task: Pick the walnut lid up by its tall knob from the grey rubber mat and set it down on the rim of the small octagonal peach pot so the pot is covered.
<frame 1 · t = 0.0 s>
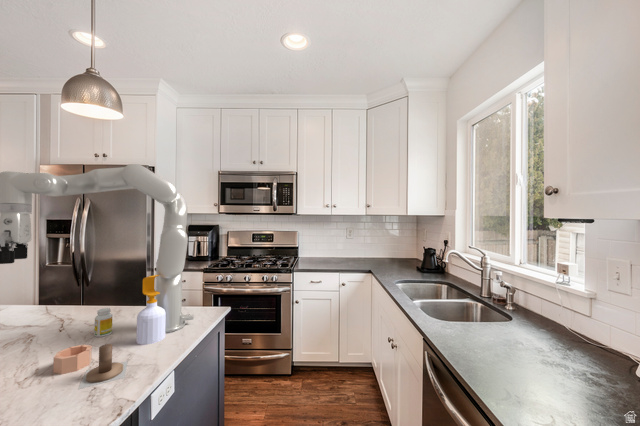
hand: (13, 261, 88), 31 cm above the countertop, tool pointing down, fingers open, 9 cm apart
mat: (105, 375, 77), on the countertop
octagonal peach pot: (73, 367, 81), on the countertop
lid: (105, 373, 77), point 1 cm above the countertop, touching mat
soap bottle: (151, 340, 99), on the countertop, touching arm
supplement bottle: (103, 334, 104), on the countertop
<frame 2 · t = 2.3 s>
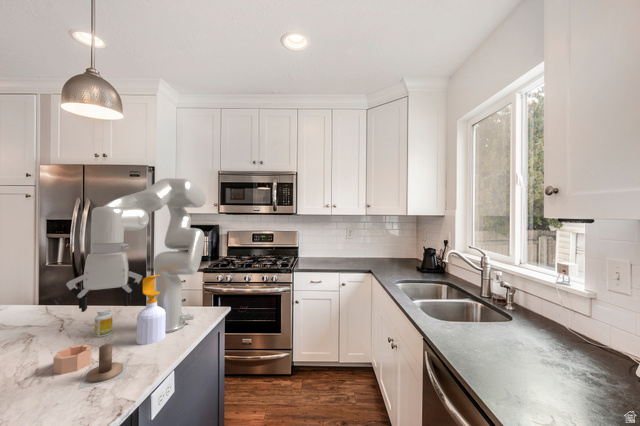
hand: (106, 307, 77), 20 cm above the countertop, tool pointing down, fingers open, 9 cm apart
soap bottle: (151, 340, 99), on the countertop
everything else where it was.
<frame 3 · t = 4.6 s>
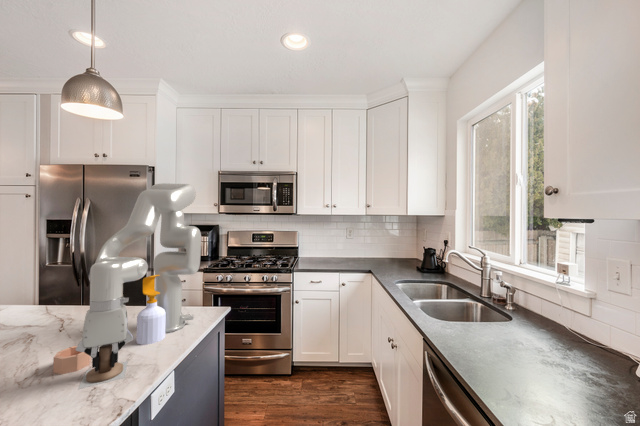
hand: (105, 366, 77), 3 cm above the countertop, tool pointing down, fingers closed on lid, 3 cm apart
lid: (105, 373, 77), point 1 cm above the countertop, touching gripper, mat
everything else where it was.
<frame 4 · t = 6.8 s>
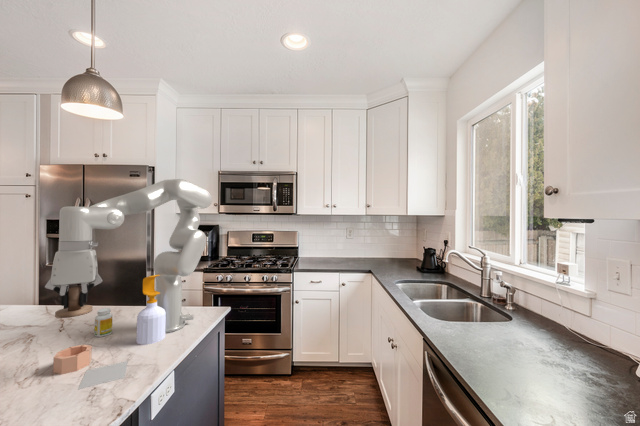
hand: (74, 305, 81), 19 cm above the countertop, tool pointing down, fingers closed on lid, 3 cm apart
lid: (74, 312, 81), point 17 cm above the countertop, touching gripper
everything else where it was.
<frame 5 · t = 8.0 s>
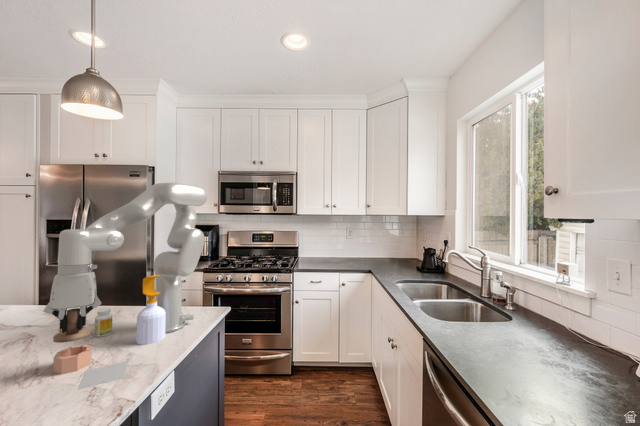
hand: (72, 329, 81), 12 cm above the countertop, tool pointing down, fingers closed on lid, 3 cm apart
lid: (72, 336, 81), point 10 cm above the countertop, touching gripper
everything else where it was.
when the fingers open (8 cm above the countertop, at t = 8.9 s): lid drops 1 cm, resting on octagonal peach pot.
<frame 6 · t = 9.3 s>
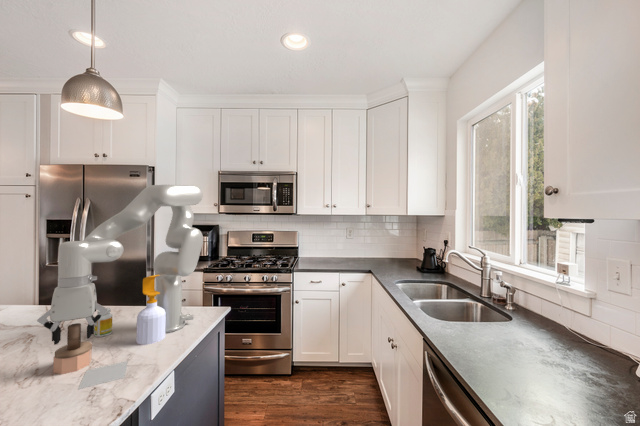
hand: (73, 339, 81), 9 cm above the countertop, tool pointing down, fingers open, 6 cm apart
lid: (73, 351, 81), point 5 cm above the countertop, touching octagonal peach pot
everything else where it was.
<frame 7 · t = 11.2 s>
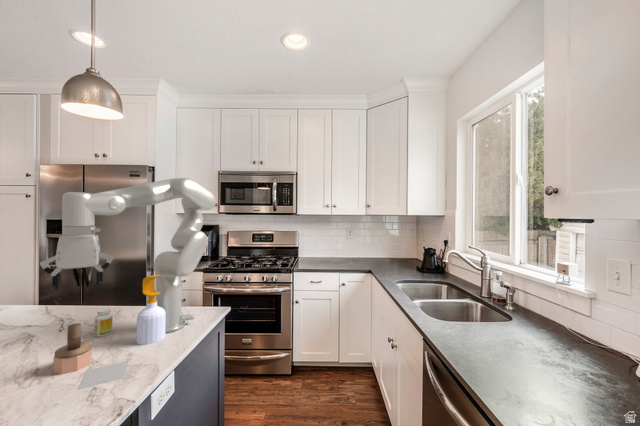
hand: (78, 285, 83), 25 cm above the countertop, tool pointing down, fingers open, 9 cm apart
nothing on the countertop moved.
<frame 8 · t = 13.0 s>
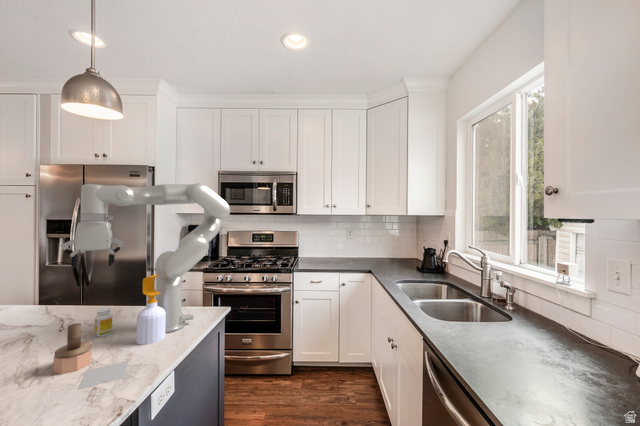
hand: (93, 266, 95), 28 cm above the countertop, tool pointing down, fingers open, 9 cm apart
nothing on the countertop moved.
at the end: lid 0.1 cm off-centre on the octagonal peach pot, point 5.0 cm above the octagonal peach pot's base; lid tilted 0°; the gripper is holding nothing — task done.
